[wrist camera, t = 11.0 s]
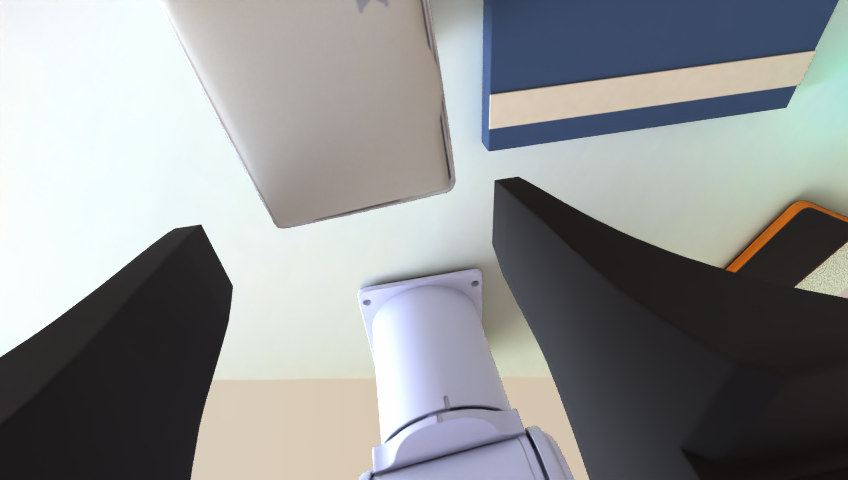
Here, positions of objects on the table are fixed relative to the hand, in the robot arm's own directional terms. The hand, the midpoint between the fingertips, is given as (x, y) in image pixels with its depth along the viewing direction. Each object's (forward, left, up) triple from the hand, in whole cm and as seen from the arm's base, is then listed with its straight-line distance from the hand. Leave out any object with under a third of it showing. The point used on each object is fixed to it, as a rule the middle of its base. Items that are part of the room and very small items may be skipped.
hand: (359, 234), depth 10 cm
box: (+4, 0, -11) cm, 11 cm away
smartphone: (-19, -27, -10) cm, 35 cm away
